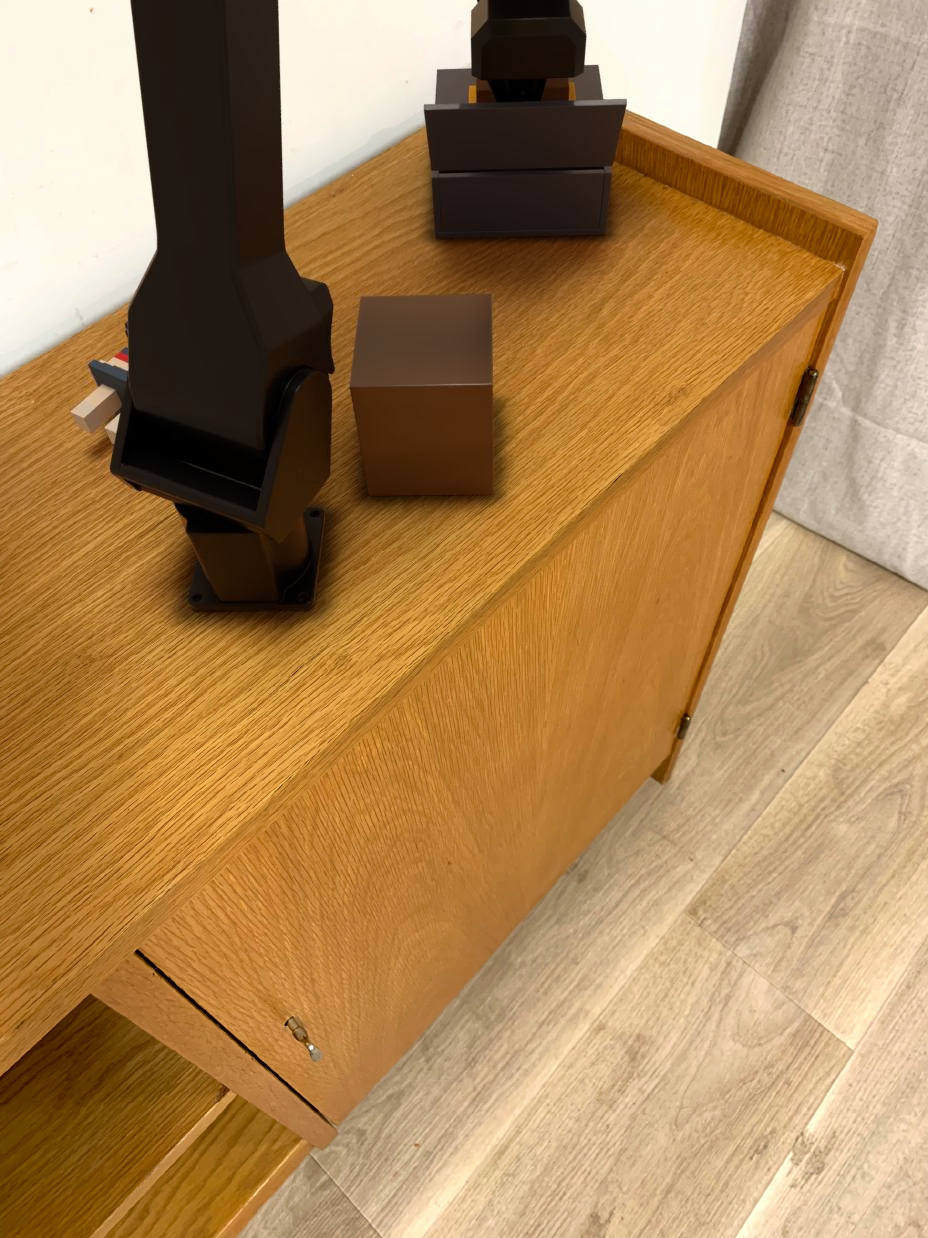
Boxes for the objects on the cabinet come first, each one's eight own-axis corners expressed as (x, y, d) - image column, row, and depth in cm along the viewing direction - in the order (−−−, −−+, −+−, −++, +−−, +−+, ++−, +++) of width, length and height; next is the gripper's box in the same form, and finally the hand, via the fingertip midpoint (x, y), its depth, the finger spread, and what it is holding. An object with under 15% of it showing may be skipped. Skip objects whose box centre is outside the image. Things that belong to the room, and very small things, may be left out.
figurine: (28, 380, 50) (200, 237, 57) (59, 434, 53) (218, 294, 60) (145, 434, 47) (312, 278, 54) (170, 488, 51) (323, 335, 58)
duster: (572, 112, 61) (574, 65, 58) (575, 143, 59) (578, 96, 56) (469, 115, 61) (468, 68, 59) (469, 146, 59) (467, 100, 56)
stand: (493, 494, 50) (492, 384, 43) (369, 496, 50) (348, 386, 43) (493, 406, 53) (492, 292, 47) (377, 408, 54) (359, 295, 47)
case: (605, 234, 63) (613, 161, 58) (435, 238, 63) (430, 165, 59) (592, 135, 70) (599, 63, 65) (440, 139, 70) (436, 68, 66)
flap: (612, 160, 58) (612, 166, 58) (431, 165, 59) (431, 170, 59) (626, 98, 52) (627, 104, 52) (423, 103, 52) (423, 110, 52)
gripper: (706, -115, 41) (656, 202, 54) (661, -237, 52) (629, 54, 65) (466, -106, 42) (474, 206, 55) (469, -229, 52) (475, 58, 65)
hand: (521, 124), depth 60 cm, fingers closed on duster, 4 cm apart
